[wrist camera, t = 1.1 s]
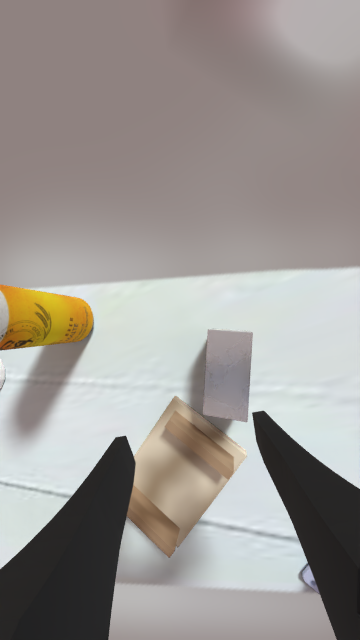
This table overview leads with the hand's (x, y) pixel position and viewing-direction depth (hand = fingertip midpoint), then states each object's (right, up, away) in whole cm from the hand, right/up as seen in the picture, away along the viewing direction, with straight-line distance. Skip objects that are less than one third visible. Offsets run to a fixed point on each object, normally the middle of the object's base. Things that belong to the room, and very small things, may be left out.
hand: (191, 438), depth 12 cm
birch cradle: (-1, -11, +14) cm, 18 cm away
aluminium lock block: (+5, +1, +13) cm, 14 cm away
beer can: (-15, +7, +18) cm, 24 cm away
